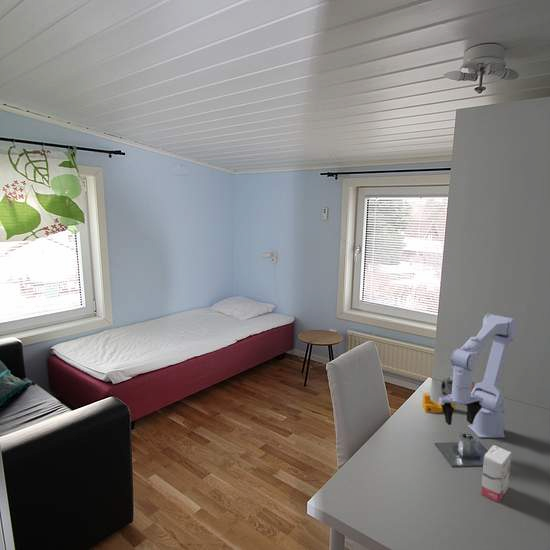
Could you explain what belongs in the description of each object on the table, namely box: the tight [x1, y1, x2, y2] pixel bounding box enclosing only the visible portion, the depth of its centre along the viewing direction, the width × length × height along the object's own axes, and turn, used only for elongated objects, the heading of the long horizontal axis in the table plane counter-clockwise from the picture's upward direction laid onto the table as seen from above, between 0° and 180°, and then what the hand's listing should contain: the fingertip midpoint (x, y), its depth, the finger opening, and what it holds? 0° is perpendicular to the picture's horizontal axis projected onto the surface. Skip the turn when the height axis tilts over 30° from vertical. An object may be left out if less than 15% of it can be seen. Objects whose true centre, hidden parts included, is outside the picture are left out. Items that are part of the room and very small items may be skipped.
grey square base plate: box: [434, 438, 489, 468], centre depth 124 cm, size 16×12×6 cm
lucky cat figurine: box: [440, 375, 476, 396], centre depth 162 cm, size 15×12×14 cm
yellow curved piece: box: [422, 392, 456, 414], centre depth 153 cm, size 12×4×6 cm, turn 84°
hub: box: [458, 431, 477, 455], centre depth 124 cm, size 5×5×5 cm
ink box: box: [480, 444, 512, 503], centre depth 107 cm, size 9×5×12 cm, turn 132°
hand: (459, 422), depth 126 cm, fingers open, 7 cm apart
